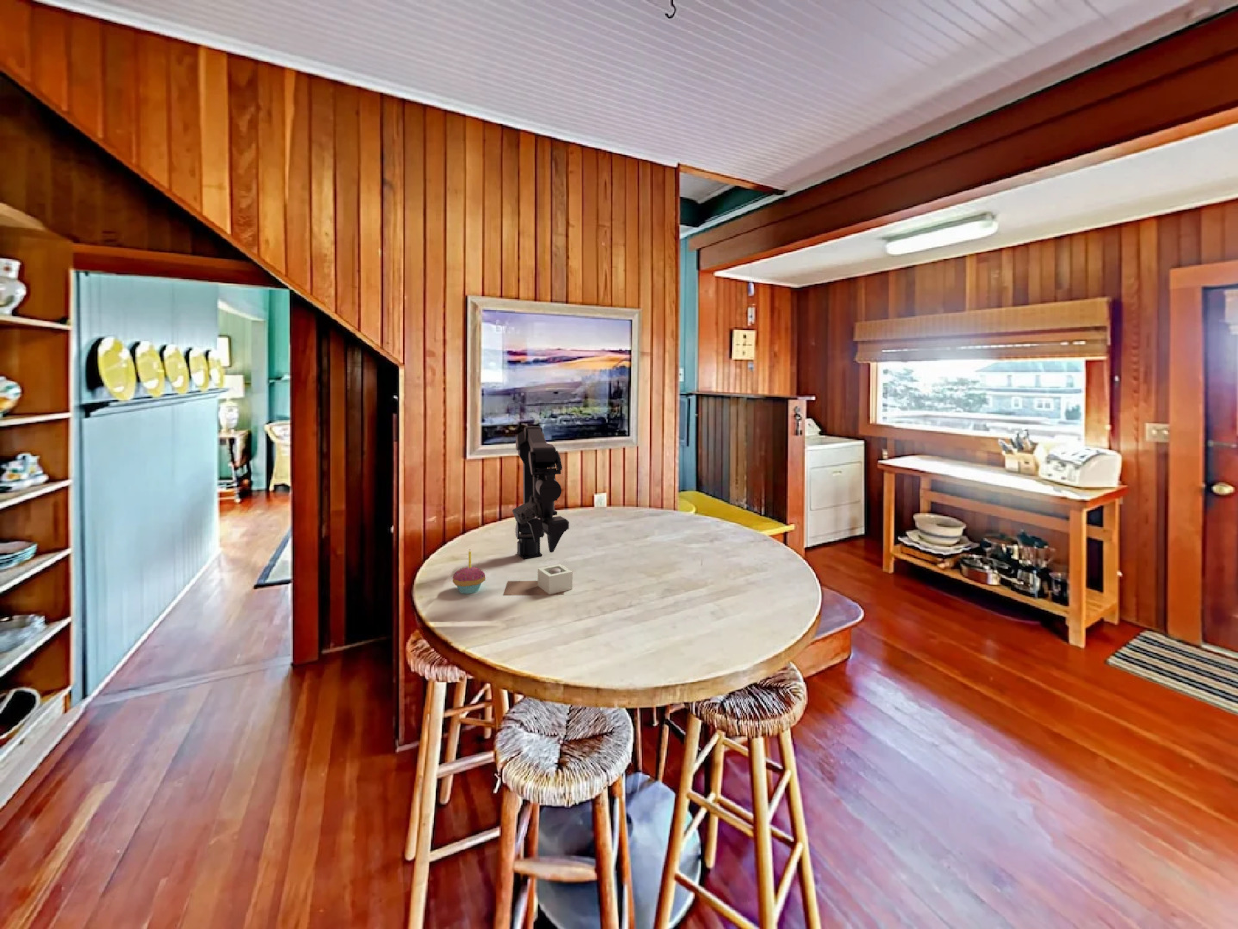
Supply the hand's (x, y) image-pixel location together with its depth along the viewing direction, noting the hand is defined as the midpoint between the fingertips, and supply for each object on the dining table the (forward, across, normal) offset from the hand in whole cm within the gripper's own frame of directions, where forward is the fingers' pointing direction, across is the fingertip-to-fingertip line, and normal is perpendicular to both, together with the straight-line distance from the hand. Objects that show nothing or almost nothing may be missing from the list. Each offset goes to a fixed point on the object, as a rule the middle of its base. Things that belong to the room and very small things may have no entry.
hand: (543, 547), depth 155 cm
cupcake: (+12, -6, -19) cm, 23 cm away
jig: (+11, +2, -4) cm, 12 cm away
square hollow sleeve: (+10, +4, +1) cm, 11 cm away
